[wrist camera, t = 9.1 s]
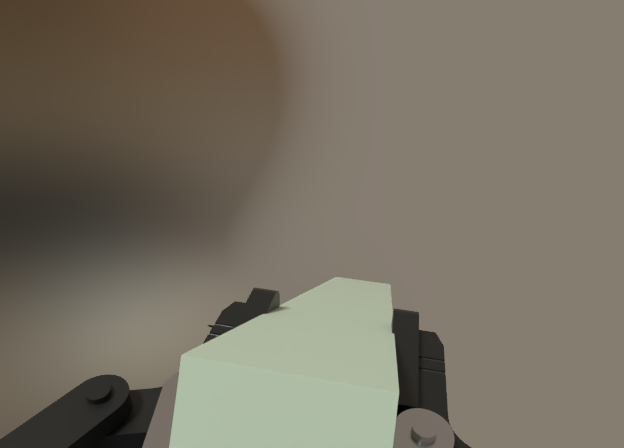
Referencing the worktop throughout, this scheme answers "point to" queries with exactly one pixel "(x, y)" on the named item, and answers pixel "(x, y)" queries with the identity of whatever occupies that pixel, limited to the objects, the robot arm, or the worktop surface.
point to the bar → (296, 376)
